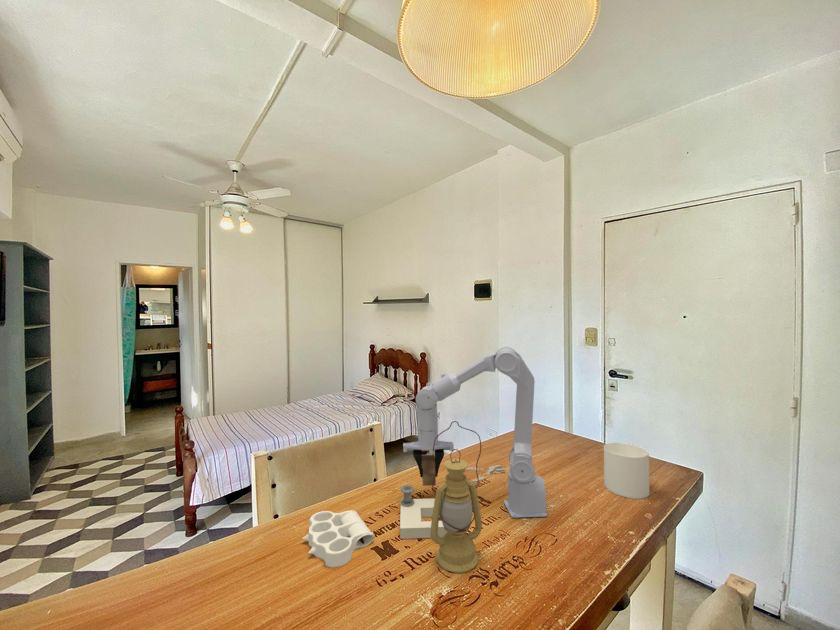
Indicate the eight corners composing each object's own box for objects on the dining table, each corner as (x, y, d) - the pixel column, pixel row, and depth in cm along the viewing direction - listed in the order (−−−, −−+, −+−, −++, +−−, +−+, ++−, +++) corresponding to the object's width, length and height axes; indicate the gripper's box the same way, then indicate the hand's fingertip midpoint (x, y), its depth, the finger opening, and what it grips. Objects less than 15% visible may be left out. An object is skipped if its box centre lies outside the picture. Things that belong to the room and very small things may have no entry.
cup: (606, 494, 101) (606, 454, 101) (602, 477, 112) (601, 440, 112) (653, 502, 97) (653, 459, 97) (644, 483, 107) (643, 445, 107)
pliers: (456, 466, 119) (496, 461, 122) (456, 471, 119) (496, 465, 122) (468, 479, 109) (510, 473, 113) (468, 484, 109) (510, 478, 113)
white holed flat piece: (379, 552, 78) (314, 578, 71) (352, 513, 94) (296, 532, 86) (379, 537, 78) (314, 562, 71) (351, 501, 94) (295, 518, 86)
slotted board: (444, 507, 96) (443, 483, 96) (450, 537, 83) (449, 509, 83) (401, 508, 95) (400, 485, 95) (400, 538, 82) (399, 511, 82)
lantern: (473, 538, 82) (472, 412, 82) (491, 567, 72) (489, 425, 73) (425, 546, 79) (423, 416, 79) (436, 578, 70) (434, 430, 70)
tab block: (434, 478, 102) (434, 455, 102) (435, 485, 98) (435, 460, 98) (422, 479, 102) (422, 455, 102) (423, 485, 98) (422, 461, 98)
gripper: (451, 423, 104) (451, 468, 104) (403, 424, 104) (403, 470, 104) (454, 431, 97) (455, 479, 97) (402, 432, 97) (403, 481, 97)
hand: (428, 475), depth 100 cm, fingers closed on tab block, 4 cm apart
